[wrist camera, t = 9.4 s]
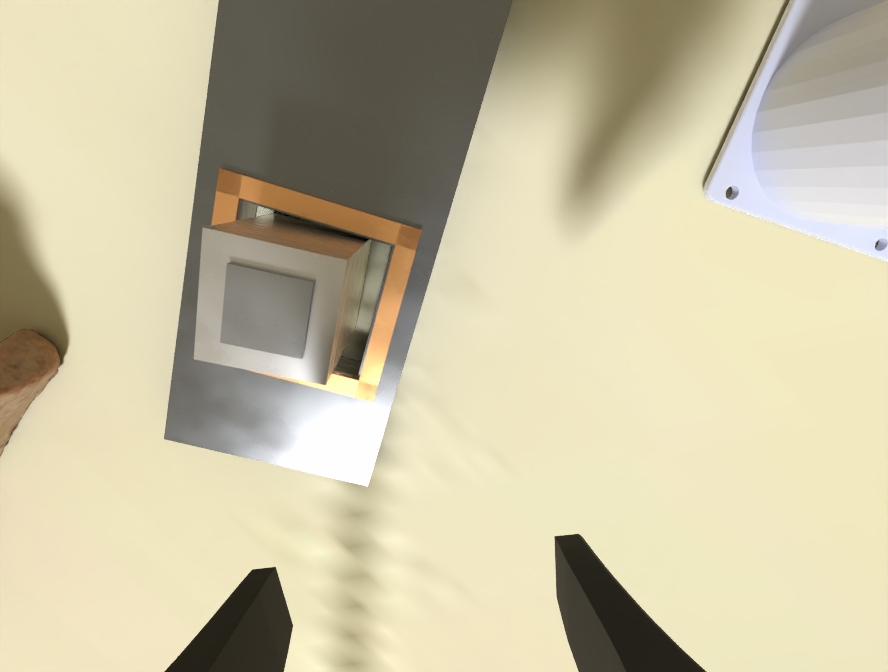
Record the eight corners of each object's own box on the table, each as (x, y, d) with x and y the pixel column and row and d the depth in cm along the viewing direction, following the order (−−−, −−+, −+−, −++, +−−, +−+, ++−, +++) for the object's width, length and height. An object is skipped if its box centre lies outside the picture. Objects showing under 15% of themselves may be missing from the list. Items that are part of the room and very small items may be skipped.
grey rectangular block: (372, 236, 18) (346, 261, 13) (355, 327, 20) (324, 388, 14) (273, 213, 18) (199, 228, 12) (262, 307, 19) (190, 361, 13)
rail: (625, -391, 13) (653, -472, 11) (371, 466, 22) (367, 488, 20) (315, -550, 12) (297, -664, 10) (182, 421, 21) (161, 441, 19)
